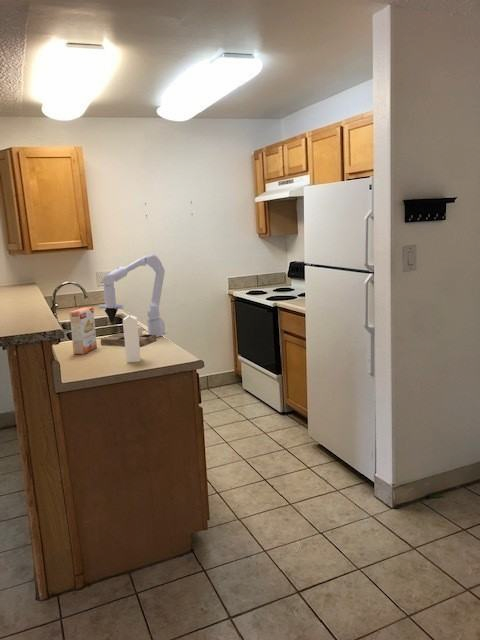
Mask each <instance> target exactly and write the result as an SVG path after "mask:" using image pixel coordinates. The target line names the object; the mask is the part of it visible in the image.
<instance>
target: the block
mask: <svg viewBox="0 0 480 640" xmlns="http://www.w3.org/2000/svg"><path fill="white" fill-rule="evenodd" d="M143 334H144V333H143V326H141V325H140V326H139V325H138V335H139V336H141V335H143Z"/></svg>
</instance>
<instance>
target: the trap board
mask: <svg viewBox="0 0 480 640" xmlns="http://www.w3.org/2000/svg"><path fill="white" fill-rule="evenodd" d="M142 334H143V335H141V336H139V346H140V348H141V347H143V346H147V345H148V344H151V343H153V342H155V341H157V337H156V335H152V334H149V333H146V334H145V333H142ZM100 345H101V346H113V345H115V347H125V340H124V332H123V333H122V332H121V333H120V332H117V333H114V334H113V335H112V334H111V335H109V336H107V337H104V338H100Z"/></svg>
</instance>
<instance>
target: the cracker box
mask: <svg viewBox="0 0 480 640" xmlns="http://www.w3.org/2000/svg"><path fill="white" fill-rule="evenodd" d="M69 319H70V329H71V339H72V340H71V341H72V349H73V351H72V352H73V355H85V354H88V353H89V352H91V351H92V350H95V349H97V348H98V346H97V343H98V342H97V335H96V324H95V323H96V322H95V321H96V320H95V311H94V307H90V306H89V307H81V308H79V309H78V308H77V309H74V310H72V311H69Z"/></svg>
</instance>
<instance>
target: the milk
mask: <svg viewBox="0 0 480 640" xmlns="http://www.w3.org/2000/svg"><path fill="white" fill-rule="evenodd" d="M138 326H139V324H138V317H137V316H135V315H132V314H131V312H130V311H128V315H126V317H124V318H123V319H122V327H123V333H124V340H125V346H124V347H125V355H126V356H125V358H126V363H135V362H136V363H137V362H141V358H142V357H141V347H140V346H139V335H138Z"/></svg>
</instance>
